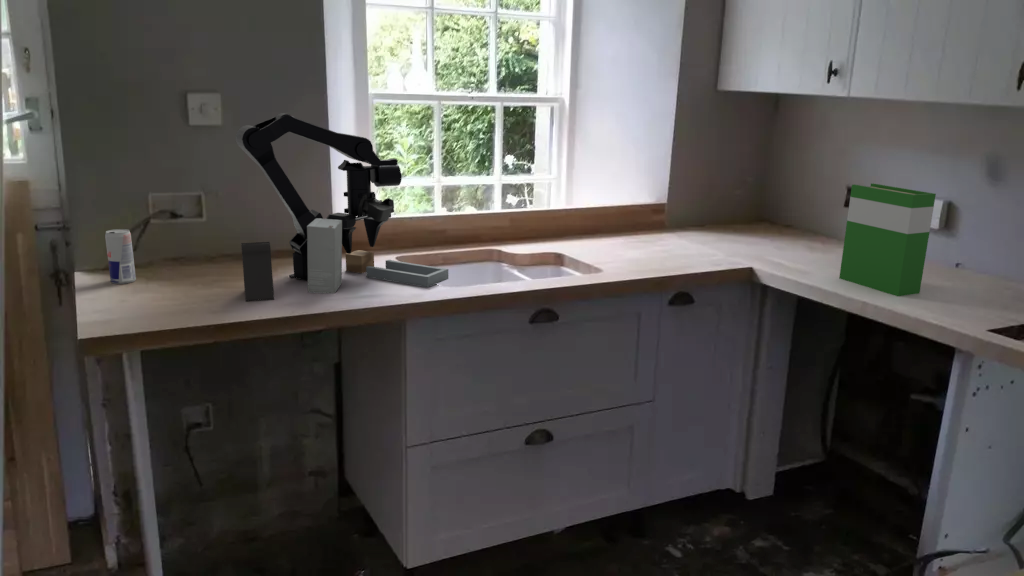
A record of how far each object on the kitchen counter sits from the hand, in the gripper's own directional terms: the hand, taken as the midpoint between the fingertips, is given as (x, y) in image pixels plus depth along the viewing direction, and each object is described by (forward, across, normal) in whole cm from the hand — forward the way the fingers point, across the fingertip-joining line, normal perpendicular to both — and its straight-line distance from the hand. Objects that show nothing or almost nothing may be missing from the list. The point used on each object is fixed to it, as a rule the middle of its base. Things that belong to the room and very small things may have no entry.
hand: (360, 250), depth 199 cm
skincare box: (+6, -18, -4) cm, 19 cm away
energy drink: (+6, -38, +40) cm, 55 cm away
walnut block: (+5, 0, +1) cm, 5 cm away
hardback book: (+5, +56, -116) cm, 129 cm away
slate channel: (+5, 0, -14) cm, 15 cm away
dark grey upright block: (+6, -30, +5) cm, 31 cm away
